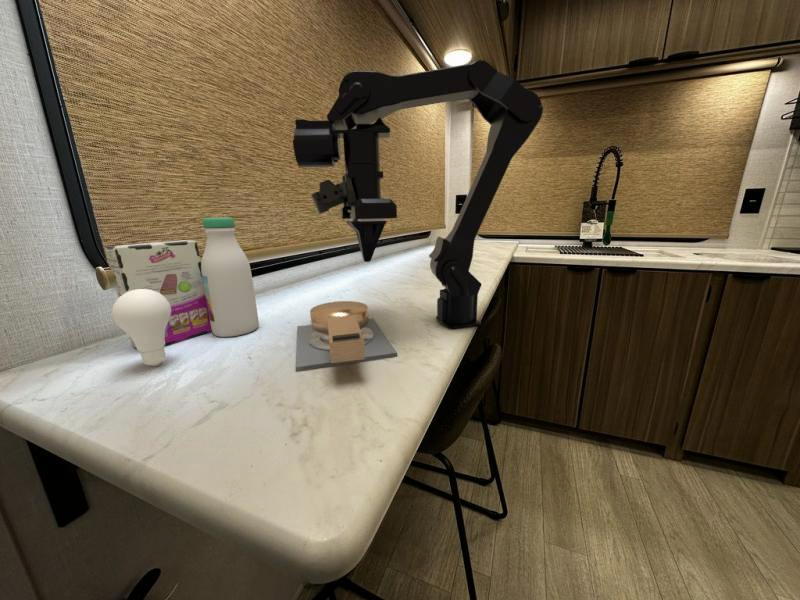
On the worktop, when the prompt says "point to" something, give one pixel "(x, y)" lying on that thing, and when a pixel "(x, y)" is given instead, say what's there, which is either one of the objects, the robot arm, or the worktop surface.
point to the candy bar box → (165, 282)
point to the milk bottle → (227, 281)
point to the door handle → (342, 328)
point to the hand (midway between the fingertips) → (367, 261)
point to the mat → (320, 358)
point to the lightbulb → (144, 322)
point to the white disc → (322, 339)
